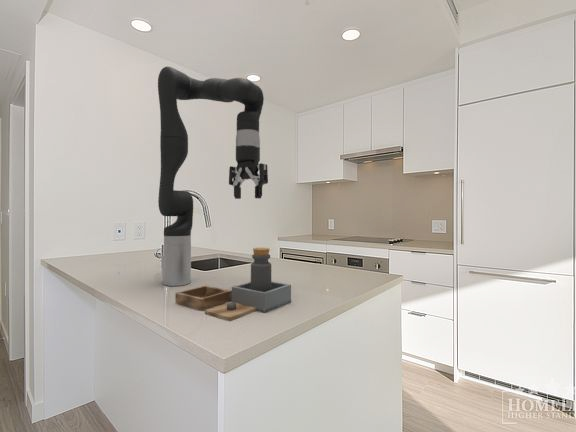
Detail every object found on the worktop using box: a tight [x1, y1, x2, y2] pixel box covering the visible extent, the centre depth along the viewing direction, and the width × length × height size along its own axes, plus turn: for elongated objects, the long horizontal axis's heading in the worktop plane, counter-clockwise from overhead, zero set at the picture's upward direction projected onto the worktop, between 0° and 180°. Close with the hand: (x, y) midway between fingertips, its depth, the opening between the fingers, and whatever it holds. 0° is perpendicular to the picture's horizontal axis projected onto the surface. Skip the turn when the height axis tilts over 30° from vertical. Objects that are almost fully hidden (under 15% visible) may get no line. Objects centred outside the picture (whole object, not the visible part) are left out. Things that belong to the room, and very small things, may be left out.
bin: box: [230, 280, 292, 314], centre depth 90 cm, size 12×12×5 cm
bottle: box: [250, 247, 272, 292], centre depth 90 cm, size 6×6×15 cm
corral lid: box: [204, 301, 257, 322], centre depth 82 cm, size 9×10×2 cm
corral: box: [174, 285, 231, 312], centre depth 91 cm, size 11×11×3 cm
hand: (247, 198), depth 99 cm, fingers open, 8 cm apart
